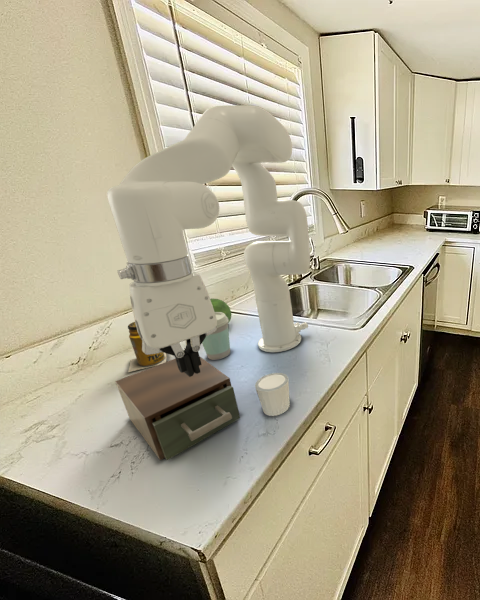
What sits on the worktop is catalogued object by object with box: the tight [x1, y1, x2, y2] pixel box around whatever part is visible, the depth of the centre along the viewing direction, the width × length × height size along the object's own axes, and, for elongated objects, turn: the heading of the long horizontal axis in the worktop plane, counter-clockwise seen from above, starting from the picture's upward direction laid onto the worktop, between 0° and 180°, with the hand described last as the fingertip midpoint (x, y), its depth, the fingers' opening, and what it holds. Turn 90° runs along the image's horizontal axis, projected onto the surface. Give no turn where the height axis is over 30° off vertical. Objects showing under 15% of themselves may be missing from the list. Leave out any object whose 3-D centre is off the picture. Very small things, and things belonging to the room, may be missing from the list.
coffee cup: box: [201, 312, 231, 361], centre depth 93 cm, size 8×8×12 cm
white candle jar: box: [254, 372, 291, 417], centre depth 72 cm, size 7×7×7 cm
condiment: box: [127, 321, 167, 373], centre depth 89 cm, size 7×8×12 cm
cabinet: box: [114, 356, 233, 461], centre depth 68 cm, size 18×15×10 cm
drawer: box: [152, 384, 241, 461], centre depth 65 cm, size 22×14×8 cm, turn 52°
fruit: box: [210, 298, 233, 323], centre depth 112 cm, size 15×10×10 cm, turn 32°
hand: (191, 371), depth 56 cm, fingers closed
